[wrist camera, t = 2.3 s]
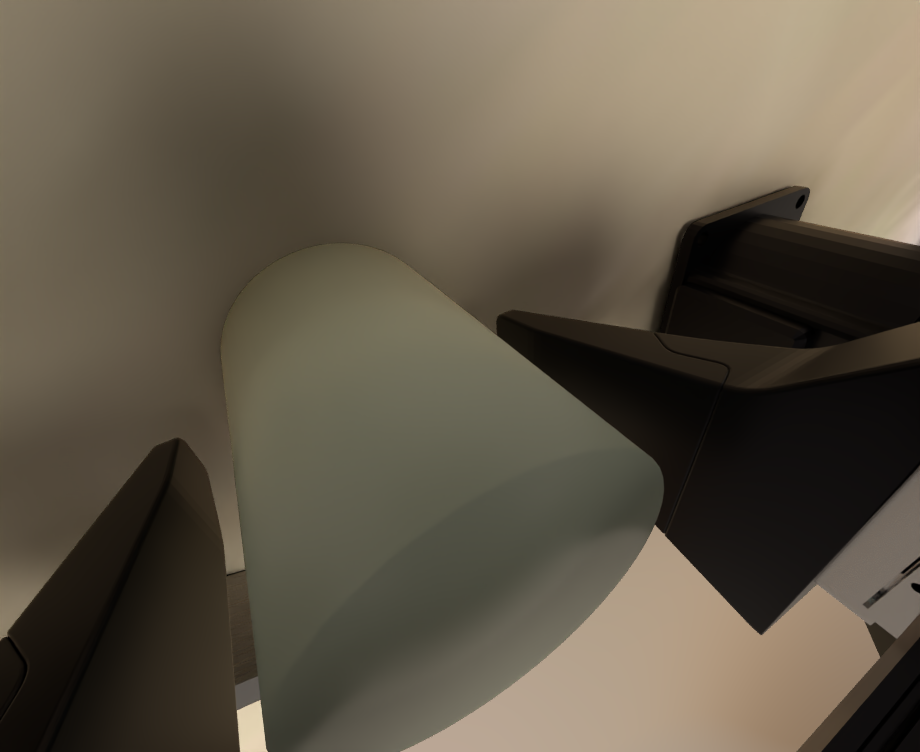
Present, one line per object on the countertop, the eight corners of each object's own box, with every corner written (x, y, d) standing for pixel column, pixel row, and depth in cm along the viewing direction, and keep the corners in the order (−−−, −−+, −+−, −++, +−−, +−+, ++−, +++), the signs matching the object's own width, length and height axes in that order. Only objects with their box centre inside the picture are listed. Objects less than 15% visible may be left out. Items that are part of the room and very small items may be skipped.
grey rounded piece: (422, 217, 9) (710, 369, 4) (449, 391, 12) (629, 597, 7) (168, 284, 7) (121, 690, 2) (276, 466, 11) (353, 803, 6)
